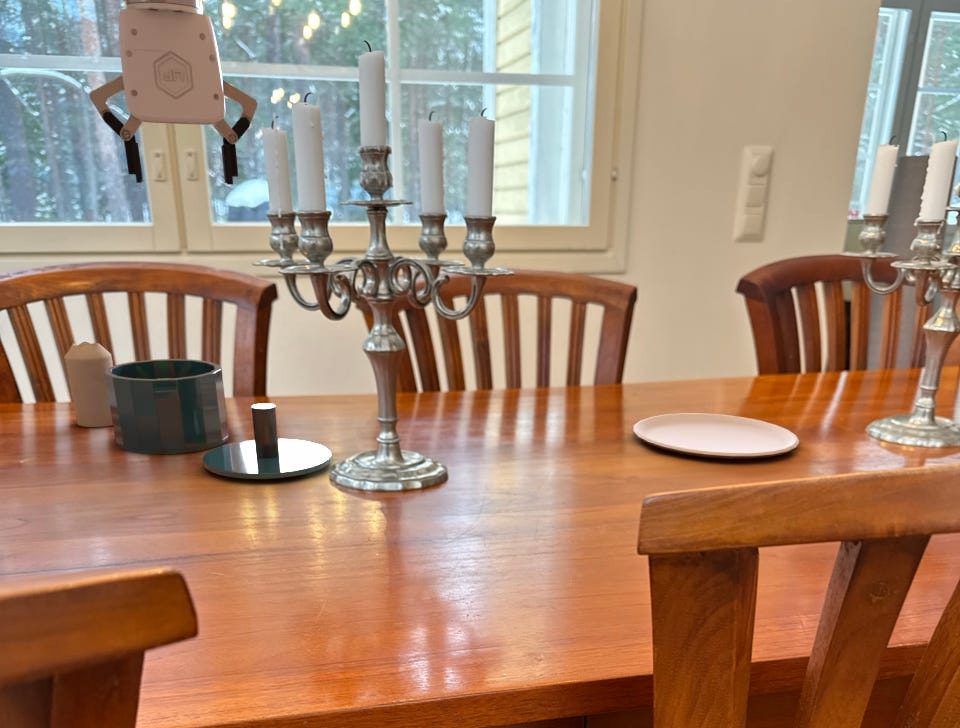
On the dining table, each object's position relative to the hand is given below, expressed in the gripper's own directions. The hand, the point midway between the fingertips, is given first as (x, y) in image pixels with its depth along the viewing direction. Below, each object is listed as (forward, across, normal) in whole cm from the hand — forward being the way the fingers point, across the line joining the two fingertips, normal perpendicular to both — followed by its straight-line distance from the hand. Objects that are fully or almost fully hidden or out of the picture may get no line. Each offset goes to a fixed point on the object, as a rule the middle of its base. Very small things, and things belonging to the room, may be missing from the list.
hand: (185, 183), depth 100 cm
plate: (+28, +61, -19) cm, 70 cm away
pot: (+28, -5, -2) cm, 29 cm away
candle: (+28, -14, +9) cm, 33 cm away
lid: (+28, +5, -16) cm, 32 cm away
